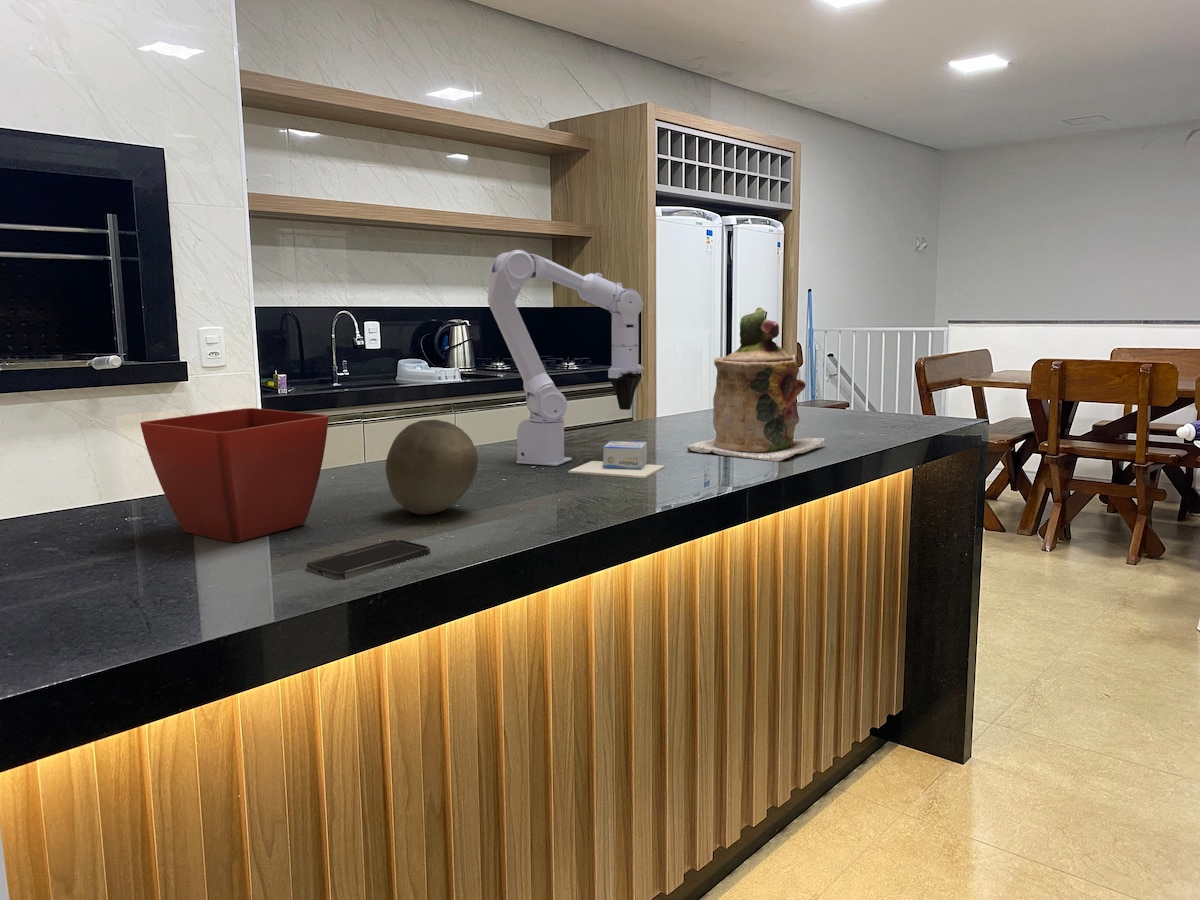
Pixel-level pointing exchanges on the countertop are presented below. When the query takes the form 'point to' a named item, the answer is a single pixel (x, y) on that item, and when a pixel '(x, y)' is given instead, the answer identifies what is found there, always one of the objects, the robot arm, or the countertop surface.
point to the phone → (367, 559)
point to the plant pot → (238, 469)
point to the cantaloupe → (430, 466)
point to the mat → (616, 470)
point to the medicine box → (625, 454)
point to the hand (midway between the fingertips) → (625, 409)
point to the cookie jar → (757, 398)
